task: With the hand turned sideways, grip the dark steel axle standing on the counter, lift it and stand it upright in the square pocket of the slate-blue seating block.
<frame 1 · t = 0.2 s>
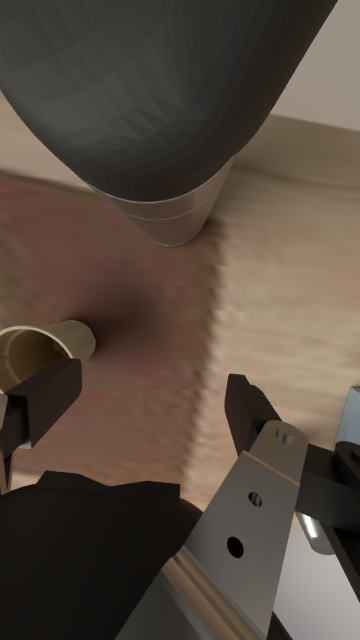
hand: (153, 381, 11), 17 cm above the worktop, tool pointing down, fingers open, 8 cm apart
flower pot: (75, 340, 29), on the worktop
steel axle: (278, 443, 33), on the worktop
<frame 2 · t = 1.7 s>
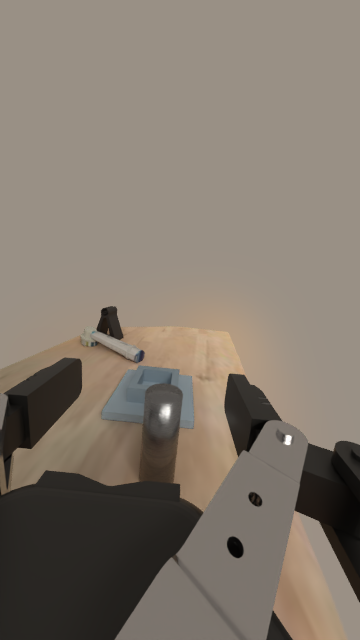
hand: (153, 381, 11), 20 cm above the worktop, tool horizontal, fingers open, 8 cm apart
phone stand: (108, 338, 76), on the worktop
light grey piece: (109, 352, 64), on the worktop
seating block: (154, 396, 42), on the worktop
steel axle: (156, 476, 26), on the worktop
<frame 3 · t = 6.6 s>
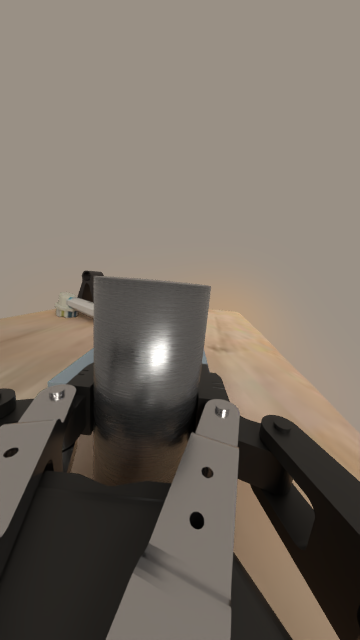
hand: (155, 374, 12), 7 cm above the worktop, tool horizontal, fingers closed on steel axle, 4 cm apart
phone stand: (93, 312, 61), on the worktop
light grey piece: (92, 323, 49), on the worktop
seating block: (146, 367, 27), on the worktop
steel axle: (140, 517, 10), on the worktop, touching gripper
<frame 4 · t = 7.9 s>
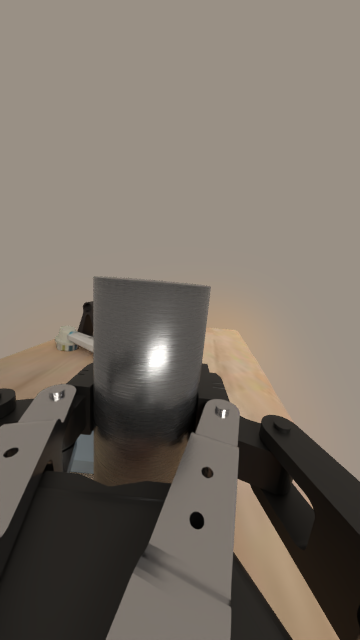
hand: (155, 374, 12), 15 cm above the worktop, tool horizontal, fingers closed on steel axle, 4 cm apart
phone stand: (94, 340, 62), on the worktop
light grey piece: (93, 358, 50), on the worktop
seating block: (146, 422, 28), on the worktop
steel axle: (140, 518, 10), point 8 cm above the worktop, touching gripper
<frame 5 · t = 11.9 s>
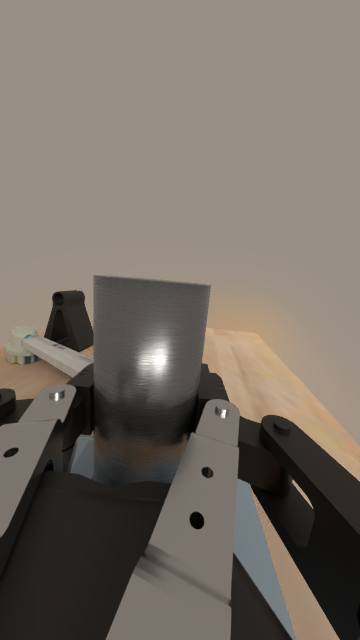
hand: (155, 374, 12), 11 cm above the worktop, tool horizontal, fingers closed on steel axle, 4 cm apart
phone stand: (70, 345, 45), on the worktop
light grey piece: (60, 376, 33), on the worktop
seating block: (131, 580, 11), on the worktop
steel axle: (140, 516, 10), point 5 cm above the worktop, touching gripper
when the fingers open (10 cm above the worktop, at t = 13.2 s): steel axle drops 2 cm, resting on seating block.
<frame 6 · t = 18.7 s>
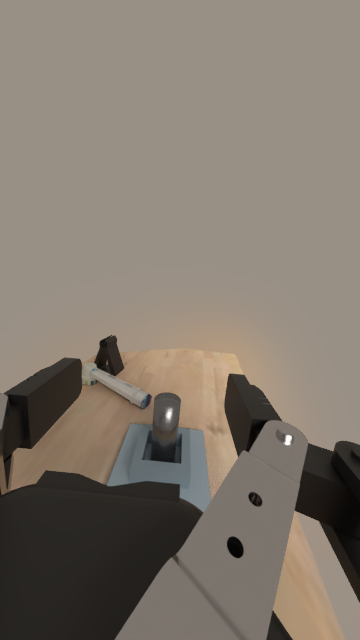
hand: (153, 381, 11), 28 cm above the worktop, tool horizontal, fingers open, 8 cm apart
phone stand: (108, 370, 70), on the worktop
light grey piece: (111, 393, 58), on the worktop
seating block: (161, 466, 36), on the worktop
steel axle: (162, 459, 36), point 2 cm above the worktop, touching seating block
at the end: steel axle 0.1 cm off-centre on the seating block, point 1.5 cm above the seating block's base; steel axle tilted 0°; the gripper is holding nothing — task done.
